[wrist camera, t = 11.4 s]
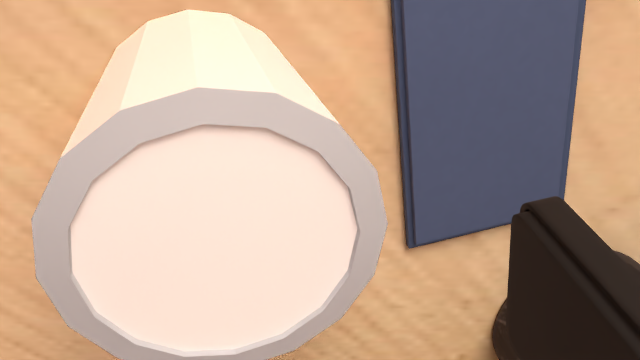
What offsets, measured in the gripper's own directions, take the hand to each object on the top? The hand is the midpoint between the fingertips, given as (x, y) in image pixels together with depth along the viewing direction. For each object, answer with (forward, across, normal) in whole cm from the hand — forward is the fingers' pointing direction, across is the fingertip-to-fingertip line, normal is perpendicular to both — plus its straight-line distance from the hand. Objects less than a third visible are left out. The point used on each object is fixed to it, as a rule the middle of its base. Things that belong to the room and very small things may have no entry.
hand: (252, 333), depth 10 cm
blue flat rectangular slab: (+9, -8, 0) cm, 13 cm away
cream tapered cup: (+9, 0, 0) cm, 9 cm away
